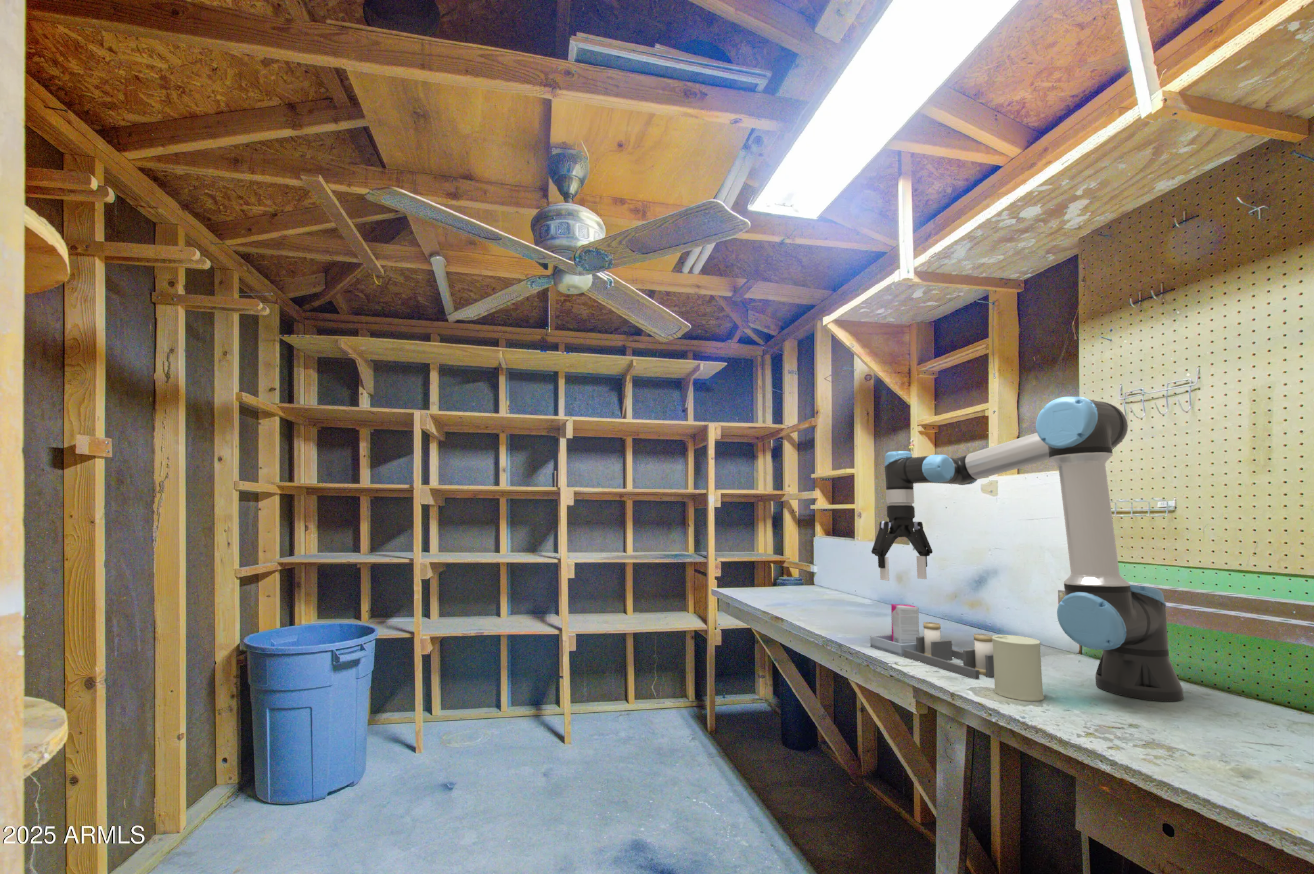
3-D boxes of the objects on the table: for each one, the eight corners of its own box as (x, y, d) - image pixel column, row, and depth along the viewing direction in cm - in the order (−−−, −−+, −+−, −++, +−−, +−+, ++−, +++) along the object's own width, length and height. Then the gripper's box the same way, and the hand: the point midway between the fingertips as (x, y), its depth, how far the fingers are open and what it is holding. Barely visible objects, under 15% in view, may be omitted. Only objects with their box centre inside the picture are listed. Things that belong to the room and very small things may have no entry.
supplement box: (920, 649, 168) (919, 607, 169) (899, 649, 168) (898, 606, 169) (911, 644, 173) (910, 603, 175) (891, 644, 173) (889, 603, 175)
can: (996, 685, 136) (993, 630, 137) (1045, 693, 131) (1041, 636, 132) (991, 695, 129) (988, 637, 130) (1042, 704, 123) (1039, 643, 125)
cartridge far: (945, 659, 160) (944, 624, 161) (933, 660, 159) (932, 625, 160) (932, 655, 164) (931, 621, 165) (920, 656, 162) (919, 622, 163)
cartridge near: (999, 674, 145) (997, 636, 146) (986, 676, 144) (984, 637, 145) (983, 670, 149) (982, 632, 150) (971, 671, 148) (969, 633, 149)
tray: (940, 652, 167) (940, 641, 168) (901, 656, 162) (901, 644, 163) (908, 643, 179) (908, 633, 179) (870, 646, 173) (870, 636, 174)
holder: (1017, 674, 146) (1016, 652, 147) (975, 679, 141) (974, 657, 142) (942, 653, 167) (941, 634, 167) (904, 657, 162) (903, 637, 162)
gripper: (923, 505, 183) (926, 577, 181) (856, 504, 174) (859, 579, 171) (943, 505, 176) (947, 579, 174) (875, 503, 167) (878, 582, 165)
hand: (903, 579), depth 173 cm, fingers open, 13 cm apart
